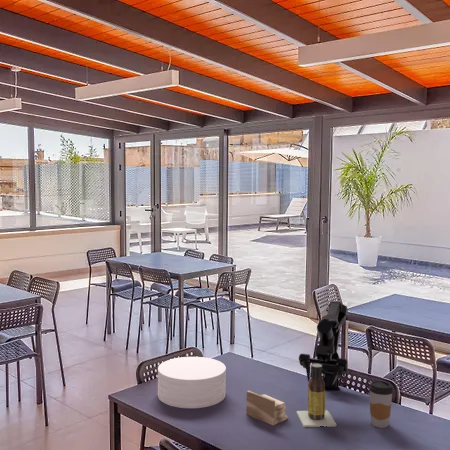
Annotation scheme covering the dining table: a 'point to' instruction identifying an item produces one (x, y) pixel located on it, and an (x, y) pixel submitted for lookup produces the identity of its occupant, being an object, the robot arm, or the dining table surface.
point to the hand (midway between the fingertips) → (320, 382)
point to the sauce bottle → (316, 393)
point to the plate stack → (191, 382)
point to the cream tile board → (310, 422)
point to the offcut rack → (265, 408)
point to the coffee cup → (380, 403)
